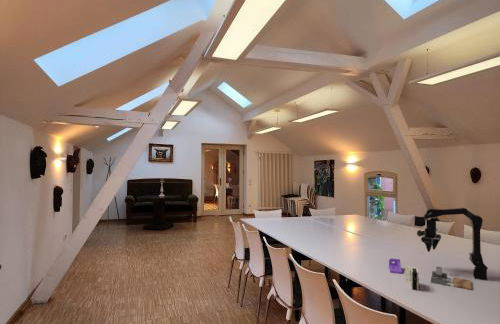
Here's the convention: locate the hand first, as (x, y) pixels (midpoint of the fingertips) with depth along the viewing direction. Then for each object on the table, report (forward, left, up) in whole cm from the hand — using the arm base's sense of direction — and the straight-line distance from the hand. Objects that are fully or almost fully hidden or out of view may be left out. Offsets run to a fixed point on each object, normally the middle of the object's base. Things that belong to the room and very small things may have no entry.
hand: (431, 250), depth 216 cm
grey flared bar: (-5, +16, -14) cm, 22 cm away
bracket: (+21, +11, -15) cm, 28 cm away
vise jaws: (-5, +16, -14) cm, 22 cm away
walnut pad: (-17, +16, -14) cm, 28 cm away
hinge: (+8, +36, -15) cm, 40 cm away
